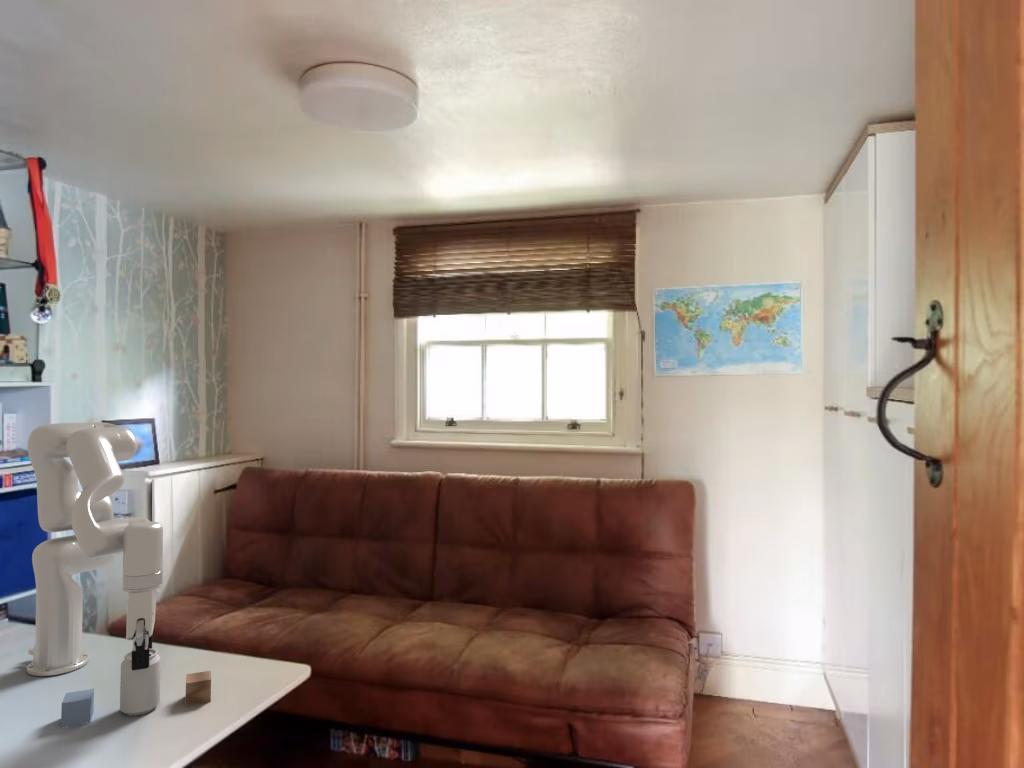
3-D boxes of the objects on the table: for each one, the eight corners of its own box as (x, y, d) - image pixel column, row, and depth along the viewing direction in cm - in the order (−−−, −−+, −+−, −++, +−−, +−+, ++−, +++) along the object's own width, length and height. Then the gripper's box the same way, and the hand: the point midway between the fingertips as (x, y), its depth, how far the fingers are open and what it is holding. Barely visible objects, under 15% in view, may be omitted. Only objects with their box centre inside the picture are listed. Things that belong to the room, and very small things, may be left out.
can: (141, 719, 137) (143, 661, 137) (111, 715, 139) (112, 658, 139) (167, 702, 145) (168, 648, 145) (138, 699, 146) (139, 644, 146)
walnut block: (185, 706, 143) (185, 683, 143) (185, 696, 148) (186, 674, 148) (210, 702, 145) (211, 679, 145) (210, 692, 150) (210, 670, 150)
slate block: (61, 728, 133) (61, 703, 133) (65, 716, 138) (66, 692, 138) (90, 723, 136) (90, 698, 136) (93, 712, 140) (94, 688, 140)
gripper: (126, 573, 148) (125, 649, 148) (118, 593, 132) (117, 679, 132) (164, 569, 151) (163, 644, 151) (160, 588, 136) (159, 672, 135)
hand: (142, 660), depth 141 cm, fingers open, 9 cm apart
